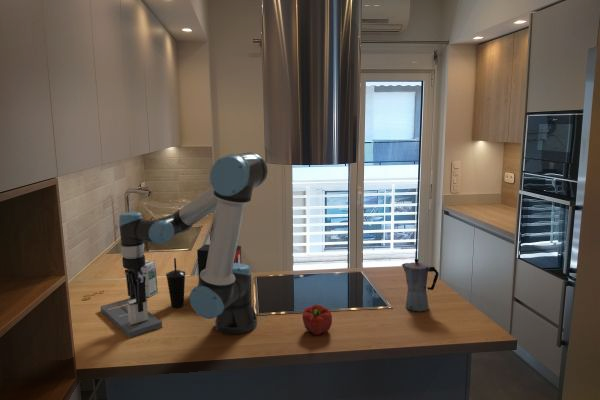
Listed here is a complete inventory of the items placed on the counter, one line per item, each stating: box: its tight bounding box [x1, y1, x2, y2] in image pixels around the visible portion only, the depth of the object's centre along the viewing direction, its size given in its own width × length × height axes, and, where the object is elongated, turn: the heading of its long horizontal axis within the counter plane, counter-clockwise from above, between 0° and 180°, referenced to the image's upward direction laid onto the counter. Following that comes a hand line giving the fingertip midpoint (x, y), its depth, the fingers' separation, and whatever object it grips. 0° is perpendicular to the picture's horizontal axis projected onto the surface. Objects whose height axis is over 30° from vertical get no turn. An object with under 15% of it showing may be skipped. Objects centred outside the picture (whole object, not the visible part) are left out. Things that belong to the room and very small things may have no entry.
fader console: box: [100, 297, 163, 339], centre depth 166 cm, size 30×12×2 cm, turn 41°
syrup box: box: [141, 259, 159, 298], centre depth 189 cm, size 6×6×14 cm
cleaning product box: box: [196, 243, 242, 278], centre depth 191 cm, size 16×9×20 cm, turn 80°
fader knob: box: [127, 298, 149, 324], centre depth 159 cm, size 3×6×8 cm, turn 131°
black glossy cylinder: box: [165, 257, 186, 309], centre depth 176 cm, size 8×8×20 cm
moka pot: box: [401, 258, 439, 312], centre depth 172 cm, size 10×15×20 cm, turn 55°
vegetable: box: [302, 304, 333, 336], centre depth 153 cm, size 11×10×10 cm
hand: (138, 317), depth 159 cm, fingers closed on fader knob, 3 cm apart
